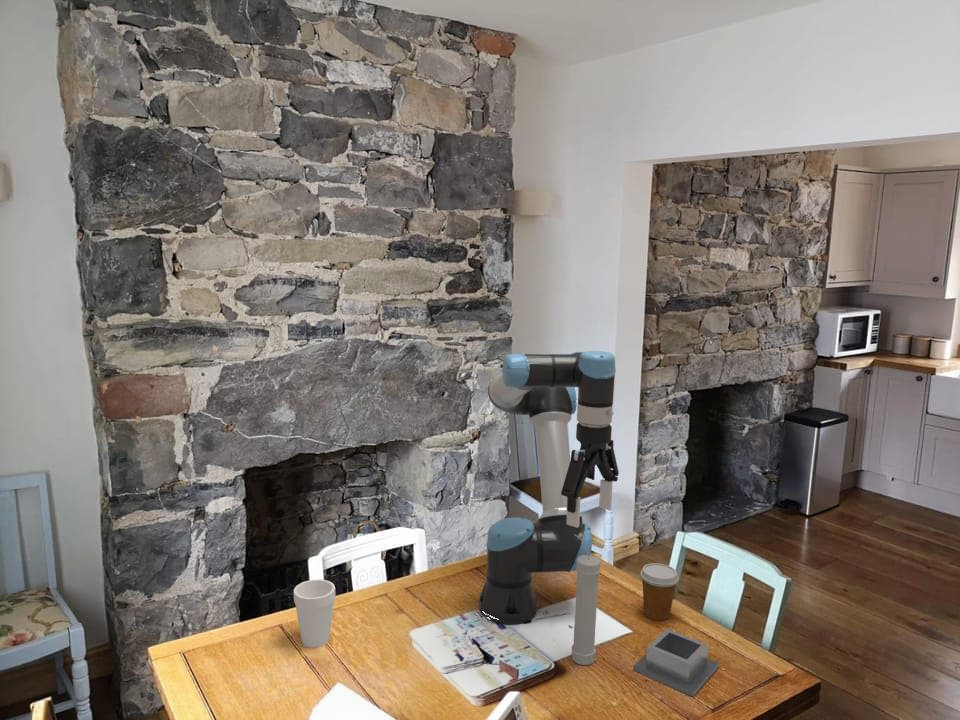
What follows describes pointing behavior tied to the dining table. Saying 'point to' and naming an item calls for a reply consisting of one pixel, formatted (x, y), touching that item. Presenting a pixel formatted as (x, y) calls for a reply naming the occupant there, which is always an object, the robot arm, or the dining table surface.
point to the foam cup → (314, 611)
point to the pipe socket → (677, 662)
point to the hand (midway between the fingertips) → (589, 516)
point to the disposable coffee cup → (658, 590)
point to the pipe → (585, 609)
